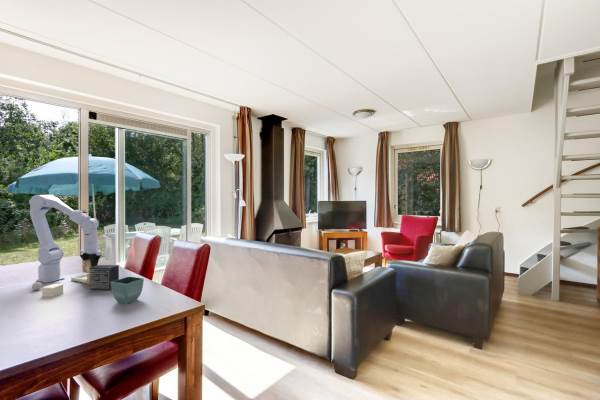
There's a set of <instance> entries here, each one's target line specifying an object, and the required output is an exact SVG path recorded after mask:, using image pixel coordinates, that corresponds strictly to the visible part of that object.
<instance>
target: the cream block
mask: <svg viewBox="0 0 600 400" xmlns="http://www.w3.org/2000/svg"><path fill="white" fill-rule="evenodd" d="M62 294H64V284H63V283H61V284H60V283H59V284H57V283H55V284H53V283H52V284H50V285H47V286H42V288H41V295H42V297H44V298H45V297H46V298H48V297H49V298H54V297H56V296H59V295H62Z"/></svg>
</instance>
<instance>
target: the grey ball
mask: <svg viewBox="0 0 600 400" xmlns="http://www.w3.org/2000/svg"><path fill="white" fill-rule="evenodd" d="M42 288H43V284H42V282H41V281H36V282H35V283H32V285H31V289H32V290H33V291H38V290H42Z"/></svg>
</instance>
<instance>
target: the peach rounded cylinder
mask: <svg viewBox="0 0 600 400" xmlns="http://www.w3.org/2000/svg"><path fill="white" fill-rule="evenodd" d="M86 274H87V273H86ZM86 285H87V286H90V273H89V274H87V284H86Z"/></svg>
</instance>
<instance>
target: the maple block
mask: <svg viewBox="0 0 600 400" xmlns="http://www.w3.org/2000/svg"><path fill="white" fill-rule="evenodd" d="M81 263H82V264H81V267H82V273H84V274H87V273H90V270H89V268H90V267H91V262H90V259H88V260H84V261H83V260H82V262H81Z"/></svg>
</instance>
